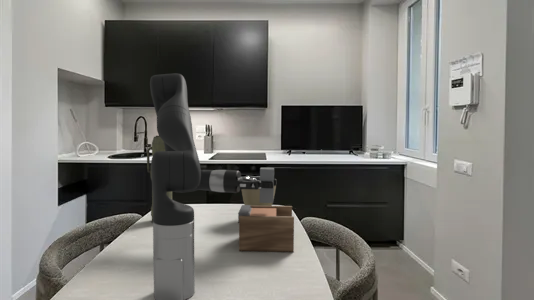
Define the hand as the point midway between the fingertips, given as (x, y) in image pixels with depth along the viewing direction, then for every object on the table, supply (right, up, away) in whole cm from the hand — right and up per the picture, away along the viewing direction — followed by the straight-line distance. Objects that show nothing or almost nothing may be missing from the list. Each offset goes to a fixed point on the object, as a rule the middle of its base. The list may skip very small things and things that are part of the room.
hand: (274, 183), depth 122 cm
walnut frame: (-3, -20, +2) cm, 20 cm away
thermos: (-45, -18, +30) cm, 57 cm away
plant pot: (-6, -18, +33) cm, 38 cm away
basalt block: (-3, -6, +1) cm, 7 cm away
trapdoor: (-5, -12, +1) cm, 13 cm away
